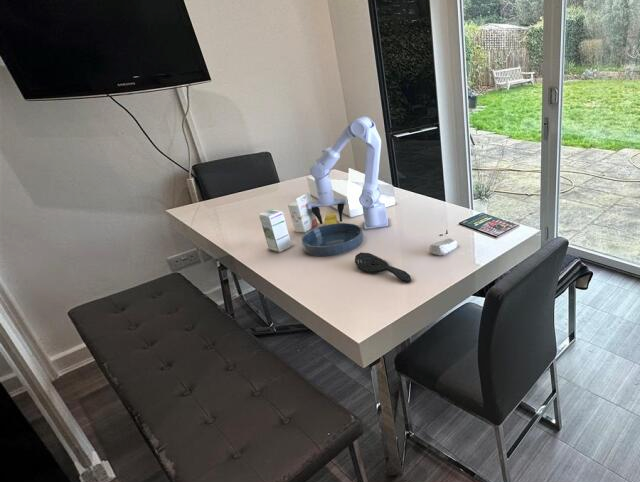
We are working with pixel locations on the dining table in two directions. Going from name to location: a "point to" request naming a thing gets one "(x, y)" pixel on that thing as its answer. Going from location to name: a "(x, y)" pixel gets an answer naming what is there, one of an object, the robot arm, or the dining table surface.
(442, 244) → the soap bar
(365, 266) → the hairbrush
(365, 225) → the robot arm
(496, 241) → the dining table surface
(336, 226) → the bowl
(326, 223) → the sponge
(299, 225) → the ink cartridge box
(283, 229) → the syrup box
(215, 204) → the dining table surface
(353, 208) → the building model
